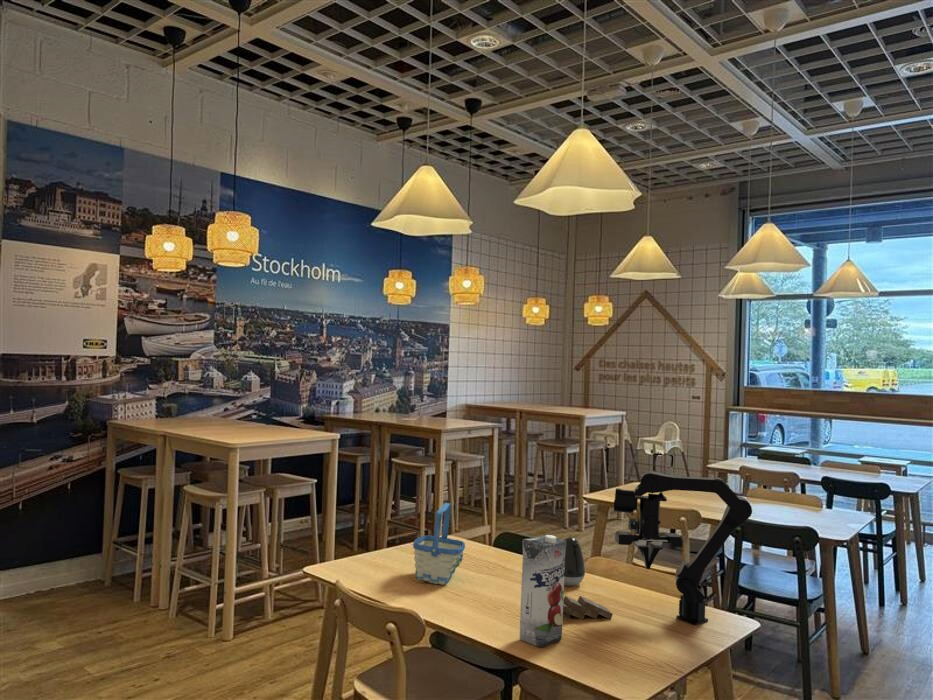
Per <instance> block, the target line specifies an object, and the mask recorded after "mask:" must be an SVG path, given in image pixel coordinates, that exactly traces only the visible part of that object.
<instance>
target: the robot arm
mask: <svg viewBox="0 0 933 700" xmlns="http://www.w3.org/2000/svg"><path fill="white" fill-rule="evenodd" d="M669 491H684V492H705V493H715V494H716V495H718V497H719V498H720V499H721V500H722V501H723V502H724V503H725V504H726V508H725V509H724V512H723V515H722V517H721V520H720V522H718V524H717V526H716V527H715V528H714V530H713V531H712V532H711V534H710V535H709V537H708V538H707V539H706V541H705V542H704V543H703V545H702V546H701V547H700V549H699V550H698V552H697V553H696V554H695V556H694V558H693V559H691V560H690V561H689V562H687V561H686V560H685V559H683V561H682V562H681V564H680V565H679V567H678V568H677V569H675V586H676V589H677V591H679V592H680V593H681V595H680V599H679V601H678V603H679V604H678V615H676V619H679V620H681V621H684V622H686V623H689V624H692V625H699V624H703V623H706V622H708V621H709V619H708V618H707V617H706V599H705V597H706V596H705V591H704V587H703V586H702V585H701V584H700V583H701V581H702V578H703V575H704V572H705V570H706V569H707V567H708V566H709V564H710V563H711V562H712V561H713V559H714V558H715V556H716V555H717V553H718V552H719V551H720V549H722V547H723V545H724V544H725V543H726V542H727V540H728V539H729V537H730V536H731V534H732V533H733V532H734V531H735V530H736V529H738V528H739V527H740V526H741V525H743V524H744V523H745V522H747V520H749V518H750V517H752V514H753V507H752V505H751V504H750V502H749V500H747V499H746V498H745V497H743V496H741V495H740V496H739V495H737V493H735V491H734V490H732V489H731V488H730V486H728V485H727V484H726V483H725V481H724V480H723V479H722V478H721V477H698V476H697V477H696V476H695V477H694V476H679V475H678V476H677V475H676V476H675V475H670V474H666V473H663V472H658V471H654V470H647V471H645V472H644V473H643V474H642V475H641V477H640V483H639V484H637V486H635V488H634V490H632V489H624V488H623V489H622V488H615V493H614V499H613V512H616V513H626V514H634V512H635V511H638V504H639V516H638V518H637V520H636V518H628V524H627V525H628V527H627V528H628V530H630V531H634V534H632V533H631V532H630V531H627V530H626V531H625V530H617V531H616V532H615V533H614V541H615V542H616V544H618V545H620V546H631V545H632V544H634V545H635V547H637V549H639V551H640V553H641V556H642V560H643V563H644V567H645V569H646V570H650V569H651V566H652V565H653V562H654V560H655V558H656V557H657V555H658V553H659V552H660V550H664V546H663V544H670V546H671V547H672V548H683V547H684V539H683V538H682V536H681V535H679V534H677V533H676V532H674V533H673V532H671V533H670V532H665V533H664V535H660V525H661V520H660V514H661V513H660V511H661V502H667V500H668V498H667V497H666V496H665V495H664V493H663V492H669ZM656 493H657V494H656ZM646 494H647V495H646ZM638 500H639V501H638ZM638 502H639V503H638Z"/></svg>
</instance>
